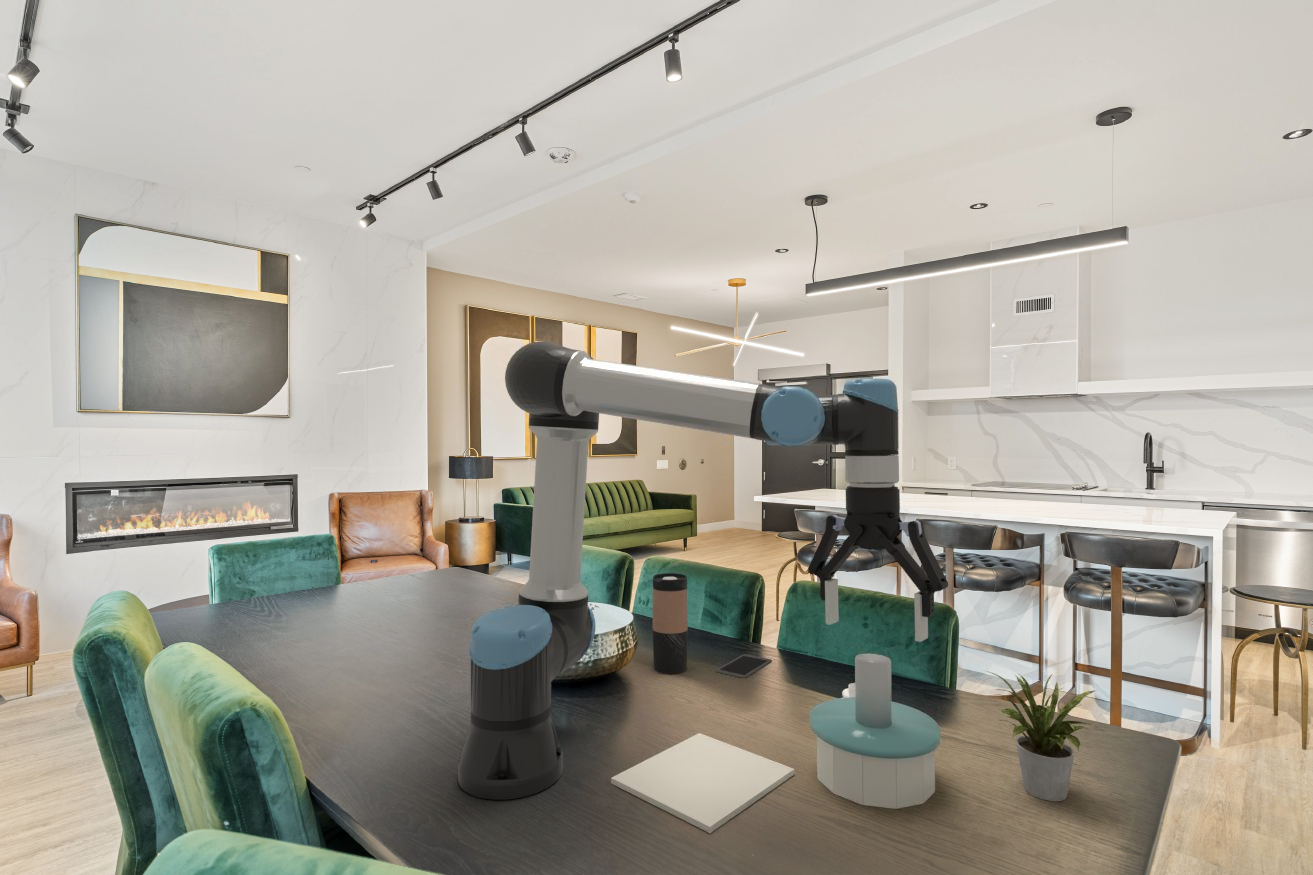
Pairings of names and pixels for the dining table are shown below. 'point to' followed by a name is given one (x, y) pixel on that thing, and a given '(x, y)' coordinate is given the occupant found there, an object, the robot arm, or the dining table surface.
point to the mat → (703, 780)
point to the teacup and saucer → (849, 691)
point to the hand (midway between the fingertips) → (874, 630)
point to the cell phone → (743, 666)
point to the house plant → (1044, 743)
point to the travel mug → (670, 623)
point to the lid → (874, 717)
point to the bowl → (876, 777)
